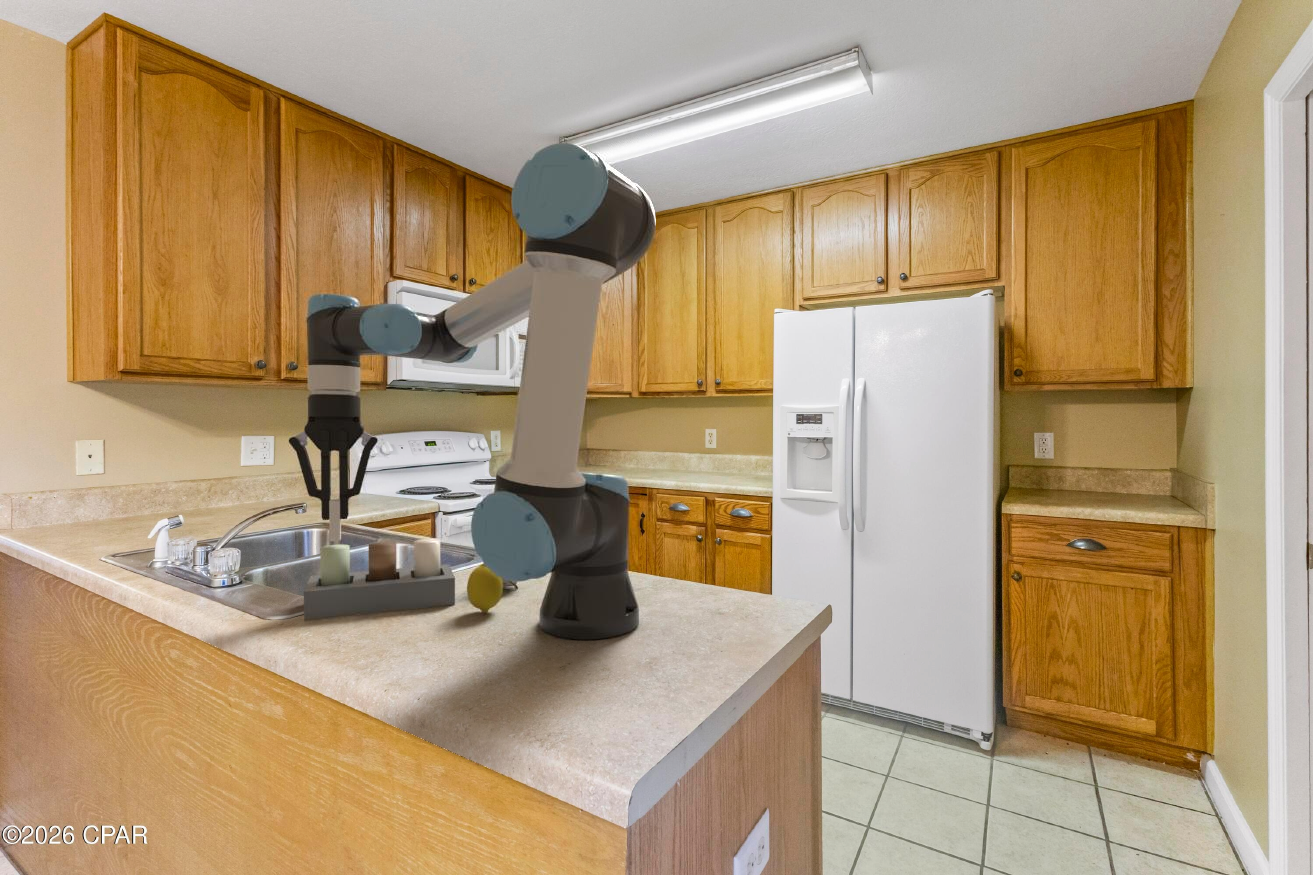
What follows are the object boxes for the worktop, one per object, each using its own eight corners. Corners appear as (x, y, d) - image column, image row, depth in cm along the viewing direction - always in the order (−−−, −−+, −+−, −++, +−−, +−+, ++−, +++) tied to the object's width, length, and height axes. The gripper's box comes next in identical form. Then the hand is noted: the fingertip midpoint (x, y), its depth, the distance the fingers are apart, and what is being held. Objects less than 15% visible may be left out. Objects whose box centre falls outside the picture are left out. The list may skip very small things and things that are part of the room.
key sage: (349, 592, 100) (349, 548, 100) (319, 594, 99) (319, 550, 98) (350, 585, 104) (350, 543, 104) (322, 587, 102) (321, 545, 102)
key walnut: (396, 587, 103) (396, 545, 103) (368, 590, 101) (368, 547, 101) (396, 581, 107) (395, 540, 107) (369, 583, 105) (368, 542, 105)
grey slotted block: (454, 604, 104) (454, 577, 104) (304, 620, 95) (303, 591, 95) (449, 588, 113) (448, 564, 113) (310, 602, 104) (310, 575, 104)
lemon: (493, 619, 97) (493, 568, 97) (460, 616, 98) (460, 566, 98) (508, 608, 102) (508, 560, 102) (477, 606, 104) (477, 558, 103)
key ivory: (441, 583, 106) (441, 542, 106) (414, 585, 104) (414, 544, 104) (439, 577, 110) (439, 537, 110) (413, 579, 108) (413, 539, 108)
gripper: (379, 395, 106) (379, 532, 107) (291, 393, 101) (292, 537, 102) (378, 394, 100) (379, 541, 100) (284, 391, 94) (285, 547, 95)
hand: (335, 539), depth 101 cm, fingers closed
